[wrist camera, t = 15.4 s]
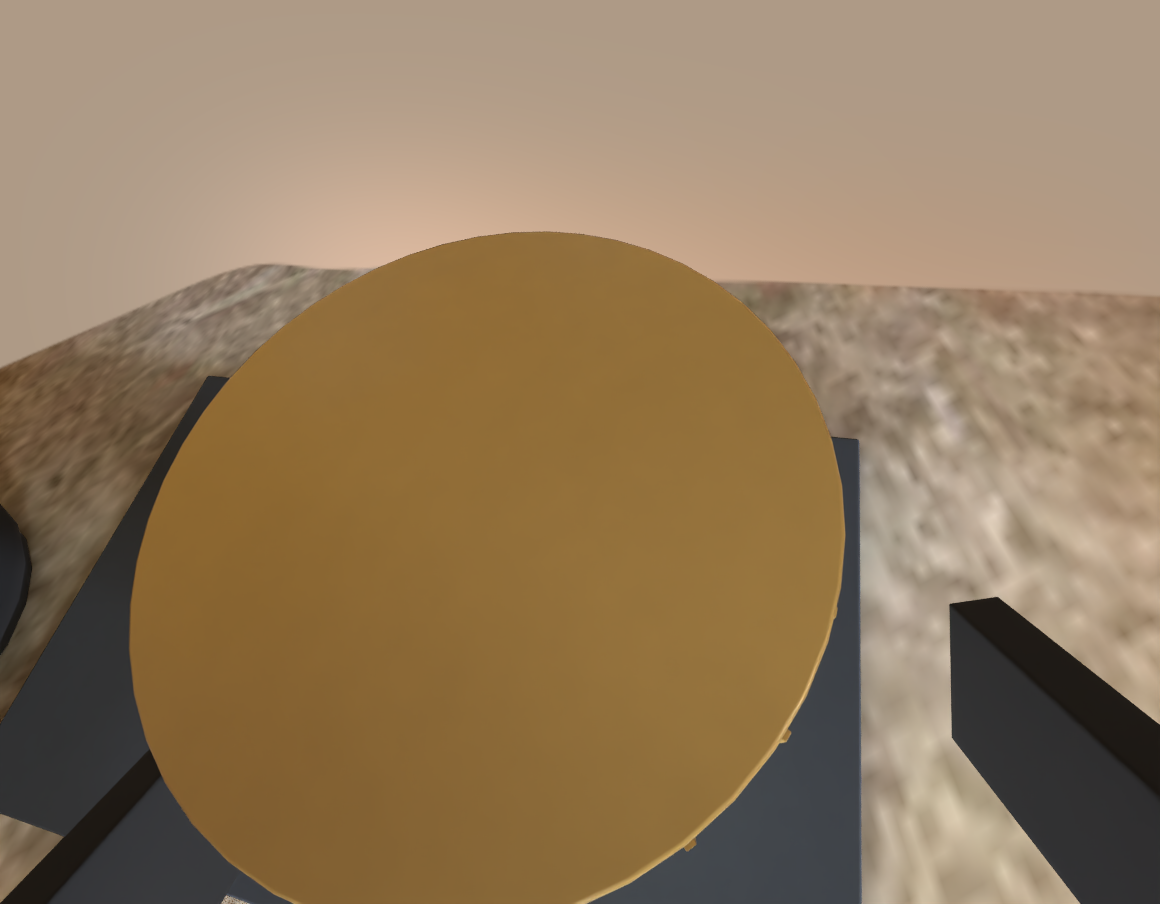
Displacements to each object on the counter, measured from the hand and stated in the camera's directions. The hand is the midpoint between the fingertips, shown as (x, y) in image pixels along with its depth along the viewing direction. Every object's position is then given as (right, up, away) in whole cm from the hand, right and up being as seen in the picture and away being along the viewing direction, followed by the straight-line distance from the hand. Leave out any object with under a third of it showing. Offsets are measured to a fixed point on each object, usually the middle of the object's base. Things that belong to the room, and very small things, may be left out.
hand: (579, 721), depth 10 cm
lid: (-1, +4, -4) cm, 6 cm away
